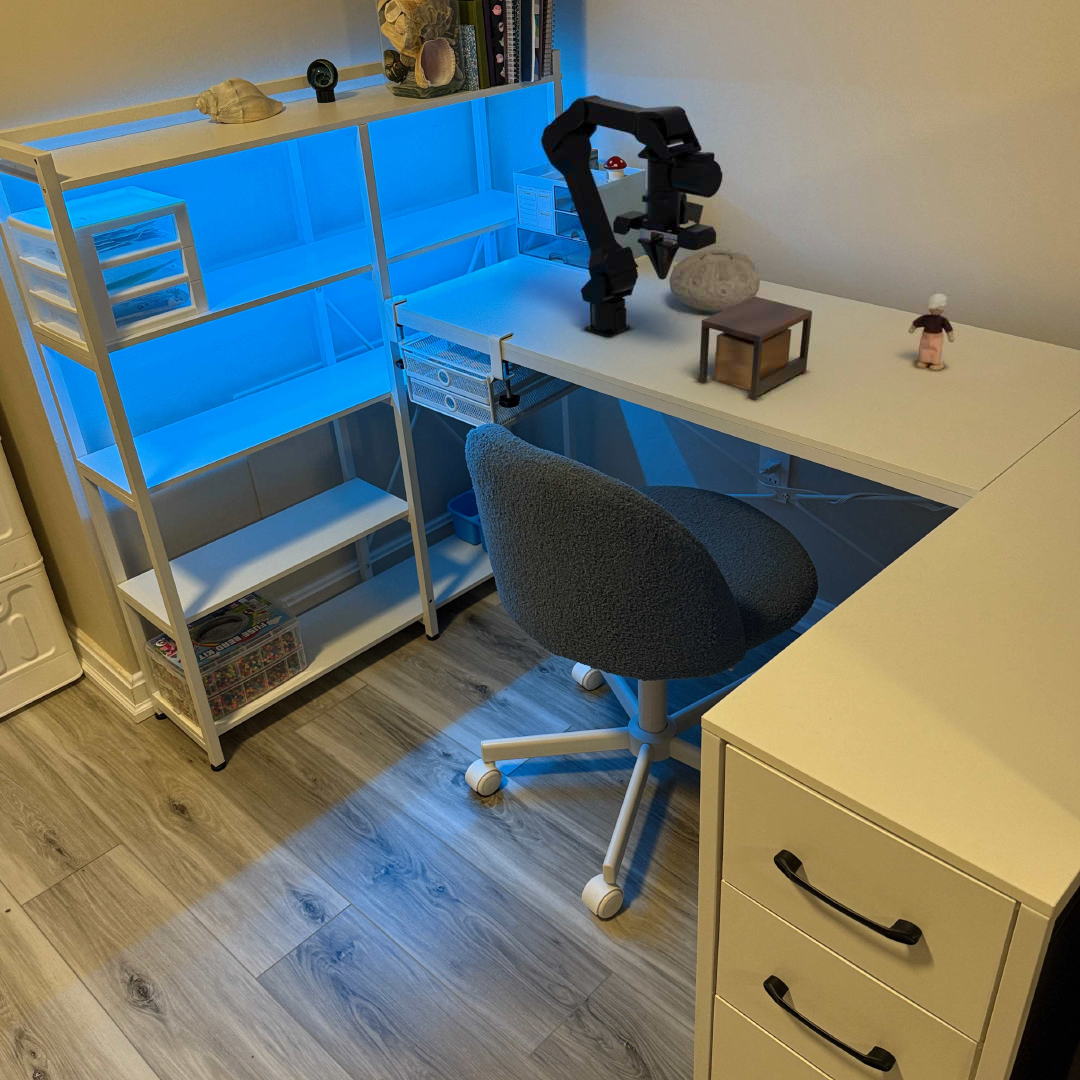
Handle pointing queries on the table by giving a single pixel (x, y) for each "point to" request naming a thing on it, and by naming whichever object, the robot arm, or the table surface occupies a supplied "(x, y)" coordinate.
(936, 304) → the grandmother figurine
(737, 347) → the wooden box
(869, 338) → the table surface
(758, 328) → the desk shelf
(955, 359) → the table surface
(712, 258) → the grey rounded stone
